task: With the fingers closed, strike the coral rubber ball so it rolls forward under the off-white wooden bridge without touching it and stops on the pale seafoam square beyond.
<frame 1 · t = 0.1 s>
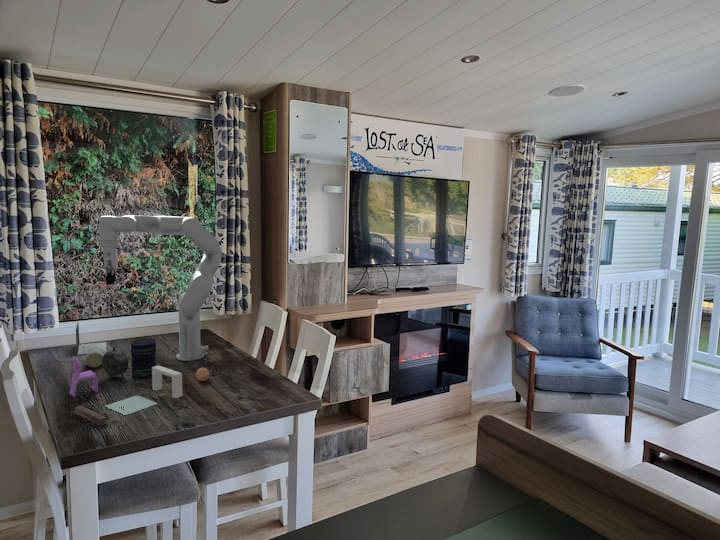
hand: (111, 282, 224), 37 cm above the table, tool pointing down, fingers open, 9 cm apart
ceramic mug: (99, 365, 227), on the table
ball: (202, 374, 210), on the table
laptop: (92, 350, 250), on the table
storage jar: (144, 376, 215), on the table
bridge: (167, 392, 197), on the table
alarm clock: (114, 378, 211), on the table
toy chair: (84, 393, 195), on the table
brown wooden bar: (90, 419, 172), on the table
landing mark: (131, 405, 184), on the table
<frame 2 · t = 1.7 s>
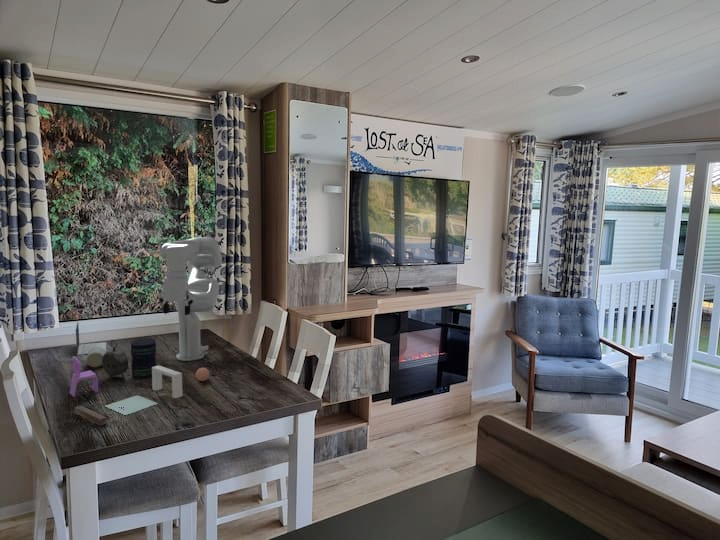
hand: (177, 313, 218), 26 cm above the table, tool pointing down, fingers open, 9 cm apart
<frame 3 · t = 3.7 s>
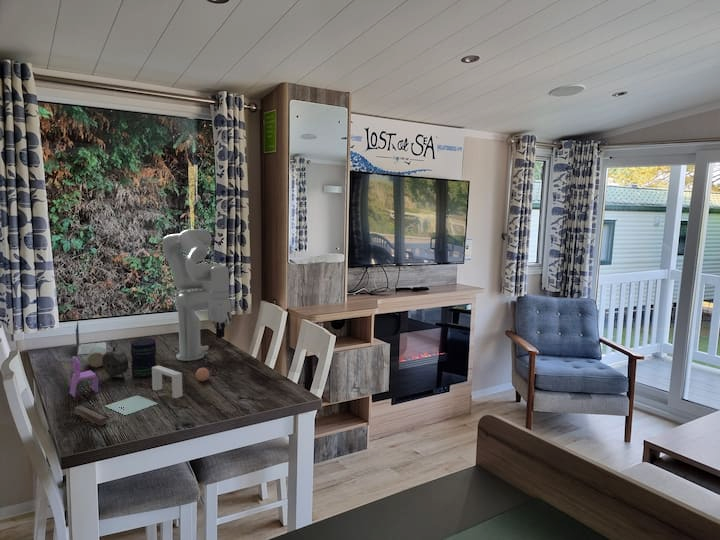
hand: (220, 337, 216), 17 cm above the table, tool pointing down, fingers closed
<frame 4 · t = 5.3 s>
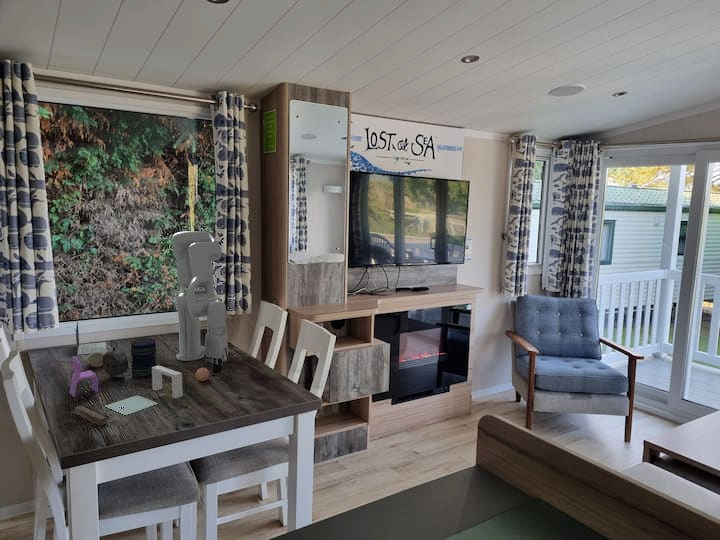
hand: (217, 372, 217), 2 cm above the table, tool pointing down, fingers closed
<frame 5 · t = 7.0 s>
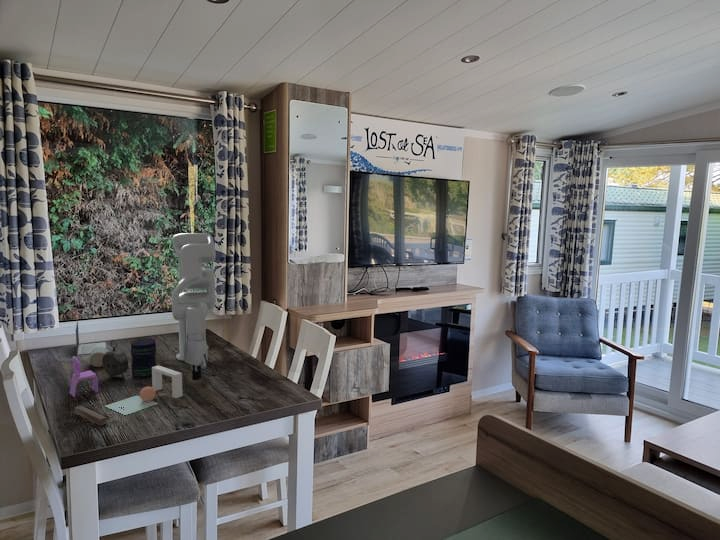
hand: (196, 379, 208), 2 cm above the table, tool pointing down, fingers closed
ball: (147, 394, 188), on the table
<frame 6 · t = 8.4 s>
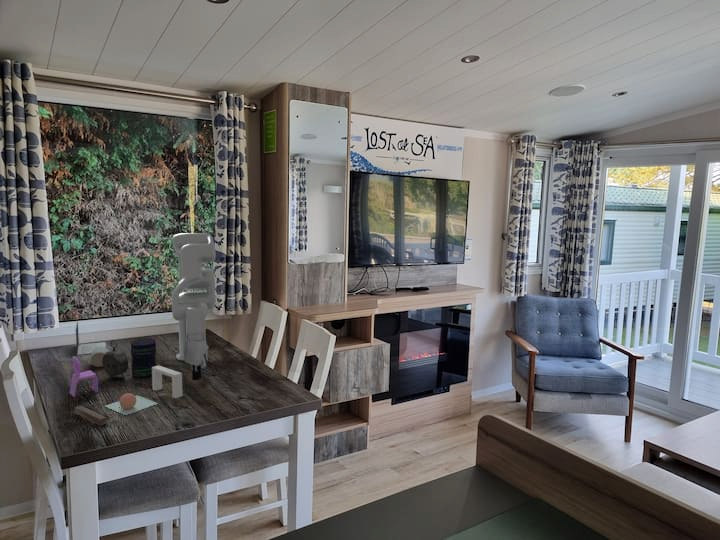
hand: (196, 379, 208), 2 cm above the table, tool pointing down, fingers closed
ball: (128, 401, 181), on the table
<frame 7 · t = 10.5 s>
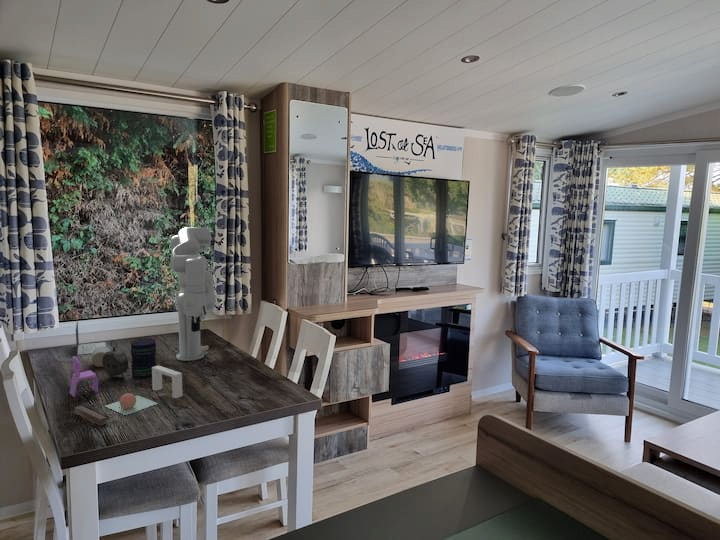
hand: (195, 330, 212), 20 cm above the table, tool pointing down, fingers closed
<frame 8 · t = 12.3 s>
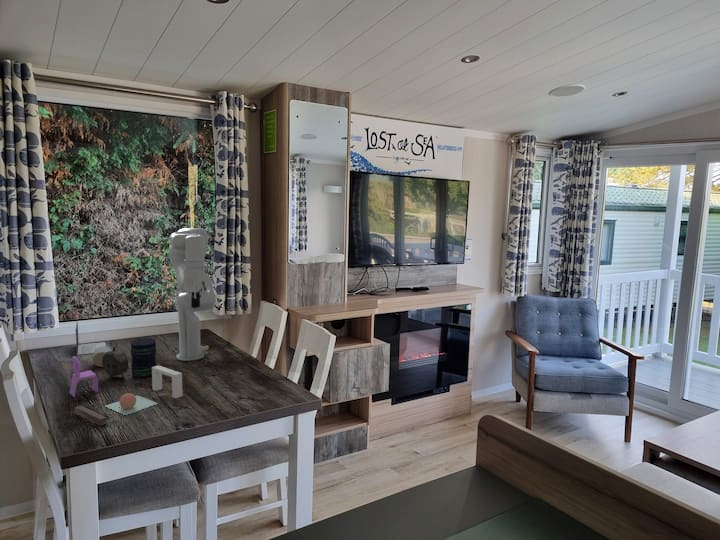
hand: (195, 307, 216), 29 cm above the table, tool pointing down, fingers closed
at the end: ball 2.9 cm from the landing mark (horizontally); ball never touched bridge; ball at rest at the end (0.0 cm/s) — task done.
